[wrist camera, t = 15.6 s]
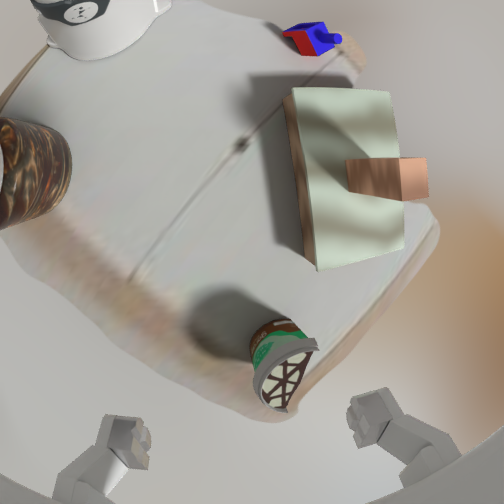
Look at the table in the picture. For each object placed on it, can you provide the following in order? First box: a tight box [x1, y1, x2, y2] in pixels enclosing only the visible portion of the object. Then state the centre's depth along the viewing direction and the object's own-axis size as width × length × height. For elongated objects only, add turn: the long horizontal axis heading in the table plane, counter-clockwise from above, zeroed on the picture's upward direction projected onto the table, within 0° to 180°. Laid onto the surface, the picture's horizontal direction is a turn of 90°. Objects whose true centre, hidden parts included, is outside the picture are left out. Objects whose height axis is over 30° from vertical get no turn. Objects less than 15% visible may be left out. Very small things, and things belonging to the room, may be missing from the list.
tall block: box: [345, 158, 429, 202], centre depth 27 cm, size 4×4×10 cm
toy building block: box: [282, 22, 342, 56], centre depth 28 cm, size 4×4×8 cm
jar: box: [0, 117, 72, 230], centre depth 21 cm, size 12×12×15 cm
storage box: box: [282, 87, 404, 272], centre depth 34 cm, size 23×15×5 cm, turn 9°
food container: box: [250, 319, 319, 413], centre depth 37 cm, size 12×6×10 cm, turn 163°
